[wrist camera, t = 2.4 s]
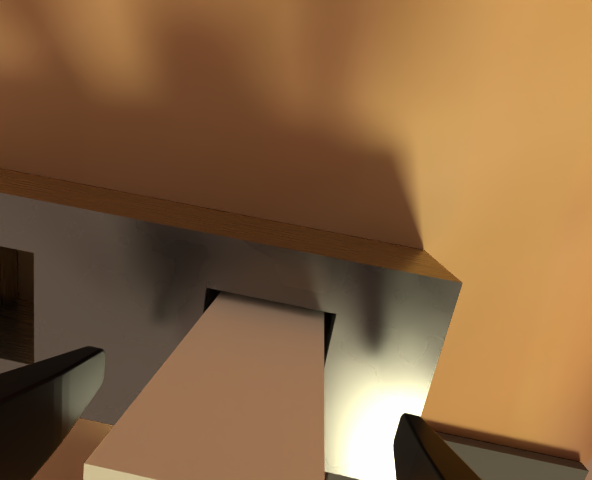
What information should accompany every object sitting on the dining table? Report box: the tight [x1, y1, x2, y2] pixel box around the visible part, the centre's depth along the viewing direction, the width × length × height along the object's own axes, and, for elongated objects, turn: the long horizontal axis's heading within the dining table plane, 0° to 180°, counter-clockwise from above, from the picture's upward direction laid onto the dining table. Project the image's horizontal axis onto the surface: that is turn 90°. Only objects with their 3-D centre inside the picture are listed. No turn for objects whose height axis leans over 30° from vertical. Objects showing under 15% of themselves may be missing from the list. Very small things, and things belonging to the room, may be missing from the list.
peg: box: [83, 291, 325, 480], centre depth 9 cm, size 3×3×9 cm
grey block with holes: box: [0, 169, 462, 480], centre depth 12 cm, size 7×18×4 cm, turn 80°
